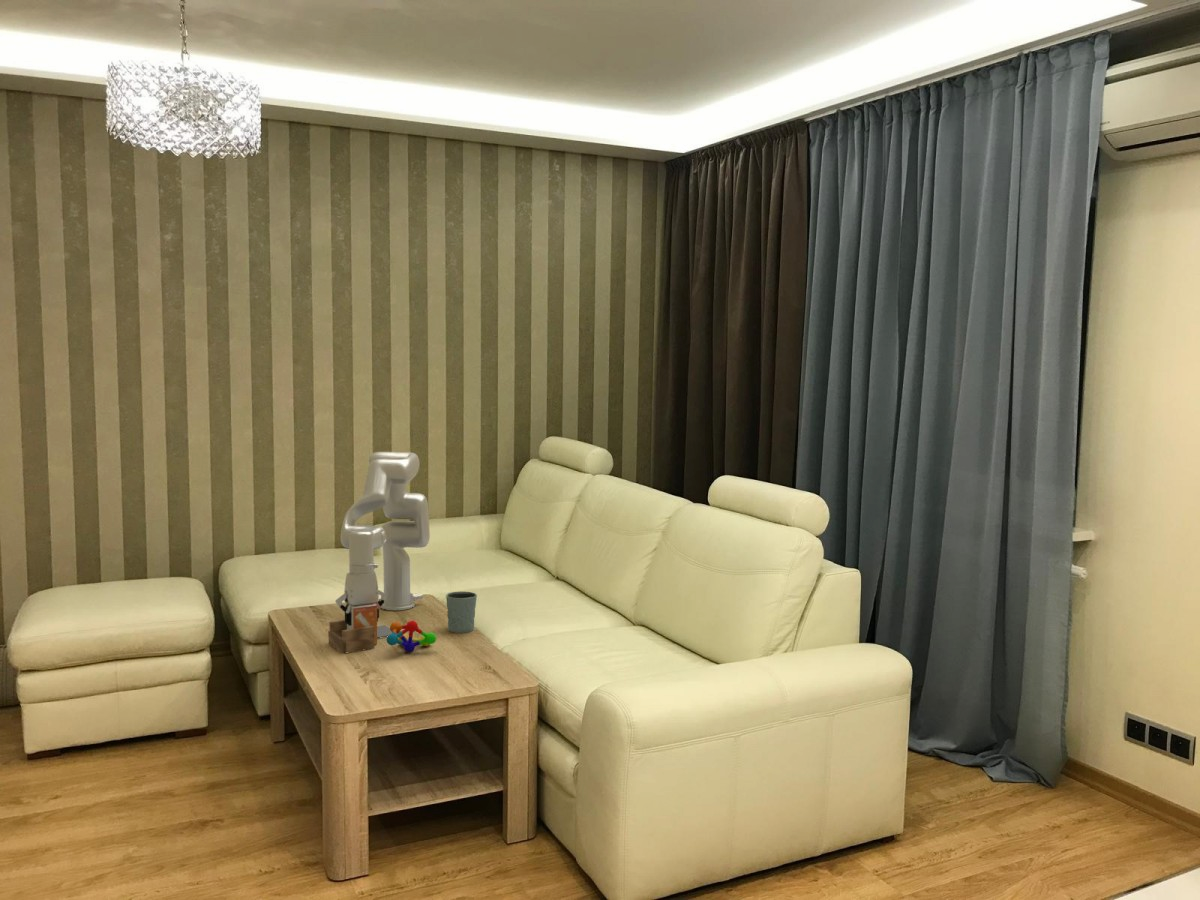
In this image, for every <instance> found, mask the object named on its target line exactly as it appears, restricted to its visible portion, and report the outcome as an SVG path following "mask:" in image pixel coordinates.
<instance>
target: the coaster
mask: <svg viewBox="0 0 1200 900" xmlns="http://www.w3.org/2000/svg"><path fill="white" fill-rule="evenodd" d="M390 634H392V631H391V630H390V627H388V626H387V625H377V638H380V637H386V638H387V636H388V635H390ZM396 635H397V633H396ZM380 639H381V638H380Z"/></svg>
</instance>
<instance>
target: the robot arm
mask: <svg viewBox="0 0 1200 900" xmlns="http://www.w3.org/2000/svg"><path fill="white" fill-rule="evenodd" d="M368 458H369V459H368V467H367V471H366V478H365V482H364V485H363V486H364V487H363V491H362V496H361V498H359V499H357V500H356V501H355V502H354V503H353V504H351V506H350V507H349V508H348V509H347V511H346V513H345V515H344V518H343V522H342V525H341V530H340V543H341V545H342V546H343V547H344V548H346V549H348V554H349V555H348V559H349V561H348V564H349V569H348V570H349V572H347V573H346V575H345V581H344V592H343V594H342V595H341V596H339V597H338V598H336V600H335V603H336V605H337V606H338V608H339V609H340V610H342V611H343V612H344V620H345V622H346V624H348V625H349V626H350V625H351V613H350V611H351V608H352V607H353V606H356V605H364V604H371V603H373V604H376V605H377V623H378V621H379V618H380V609H381V608H382V610H384V609H386V610H385V611H404V610H405V611H406V610H410V609H412V607H413V608H414V607H416V606H415V605H416V604H415V601H416V600H423V599H424V596H423V593H418V594H417V593H412V592H411V559H410V556H409V554H408V552H407V551H406V550H405V548H411V549H412V548H425V547H427V546H428V544H429V542H430V534H431V533H430V517H429V516H430V515H429V503H428V499H427V497H426V496H425V495H424V494H423V493H419V492H407V484H408V483H410V482H411V481H412V480H413V479H414V478H415V477H416V476H417V474H418V473H419V470H420V465H421V464H420V459H419V456H418V455H417V454H416V453H415V452H409V451H407V452H405V451H404V452H403V451H400V452H399V451H375V452H373V453H370V455H369V457H368ZM379 509H383V510H382V511H383V514H384V516H385V517H386V518H388V519H391V520H389V521H387V522H385V523H383V524H382V526H380V525H367V524H366V525H364V524H363V525H361V524H360V525H359V524H358V525H357V524H355V523H356V522H357V521H358V520H359V519H360V518H361V517H363V516H365V515H367V514H369V513H372V512H375V511H378V510H379ZM408 520H409V521H408ZM411 520H412V521H411ZM381 548H382V555H383V561H382V562H383V565H382V566H383V591H381V590H380V589H379V586H378V585H379V584H378V579H377V578H378V577H377V573H376V571H375V569H377V568H378V567H379V565H378V563H375V562H374V561H375V560H374V558H375V557H374V550H378V549H381ZM379 597H380V599H379ZM343 601H344V603H346V604H345V605H344V604H343Z"/></svg>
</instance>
